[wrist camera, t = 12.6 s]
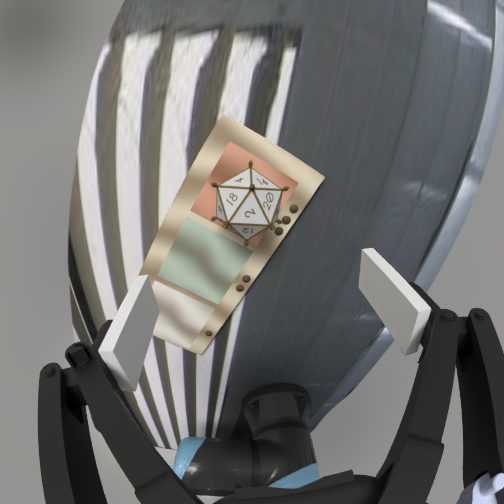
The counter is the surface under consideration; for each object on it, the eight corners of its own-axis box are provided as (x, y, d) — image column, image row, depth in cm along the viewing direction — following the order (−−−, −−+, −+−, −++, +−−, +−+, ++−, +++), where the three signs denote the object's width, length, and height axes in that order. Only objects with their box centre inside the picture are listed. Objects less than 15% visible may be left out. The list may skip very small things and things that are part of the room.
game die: (240, 175, 37) (245, 132, 27) (291, 212, 36) (313, 179, 27) (197, 225, 35) (187, 193, 25) (250, 266, 34) (260, 248, 25)
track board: (201, 350, 47) (200, 355, 46) (123, 315, 43) (120, 320, 42) (322, 175, 35) (325, 177, 34) (222, 114, 31) (222, 113, 30)
